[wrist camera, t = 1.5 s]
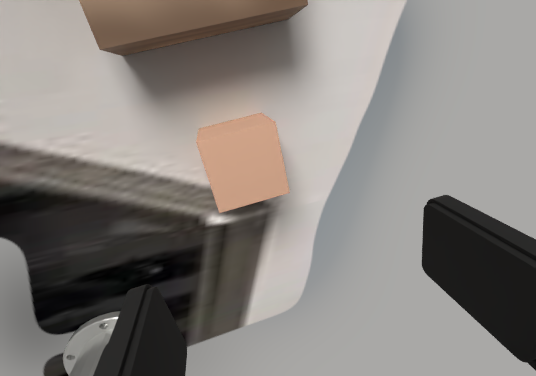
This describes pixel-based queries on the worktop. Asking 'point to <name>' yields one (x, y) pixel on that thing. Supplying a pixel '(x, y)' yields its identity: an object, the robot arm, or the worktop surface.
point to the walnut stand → (176, 20)
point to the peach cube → (243, 161)
